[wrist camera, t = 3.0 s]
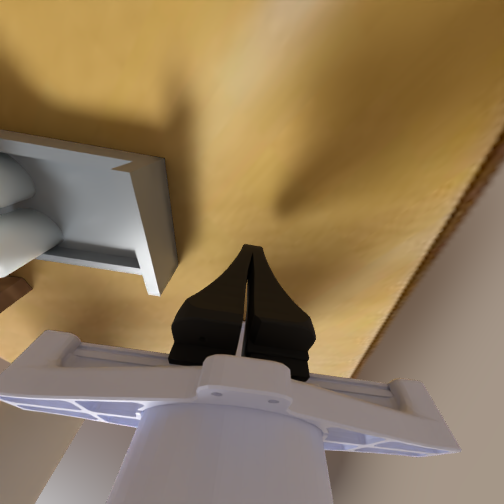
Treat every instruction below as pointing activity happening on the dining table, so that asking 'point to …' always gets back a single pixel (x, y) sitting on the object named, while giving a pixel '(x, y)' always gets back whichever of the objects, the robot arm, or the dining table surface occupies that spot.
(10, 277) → the wooden side table
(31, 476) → the cylinder vase
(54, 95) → the dining table surface
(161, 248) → the tray
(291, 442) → the robot arm
